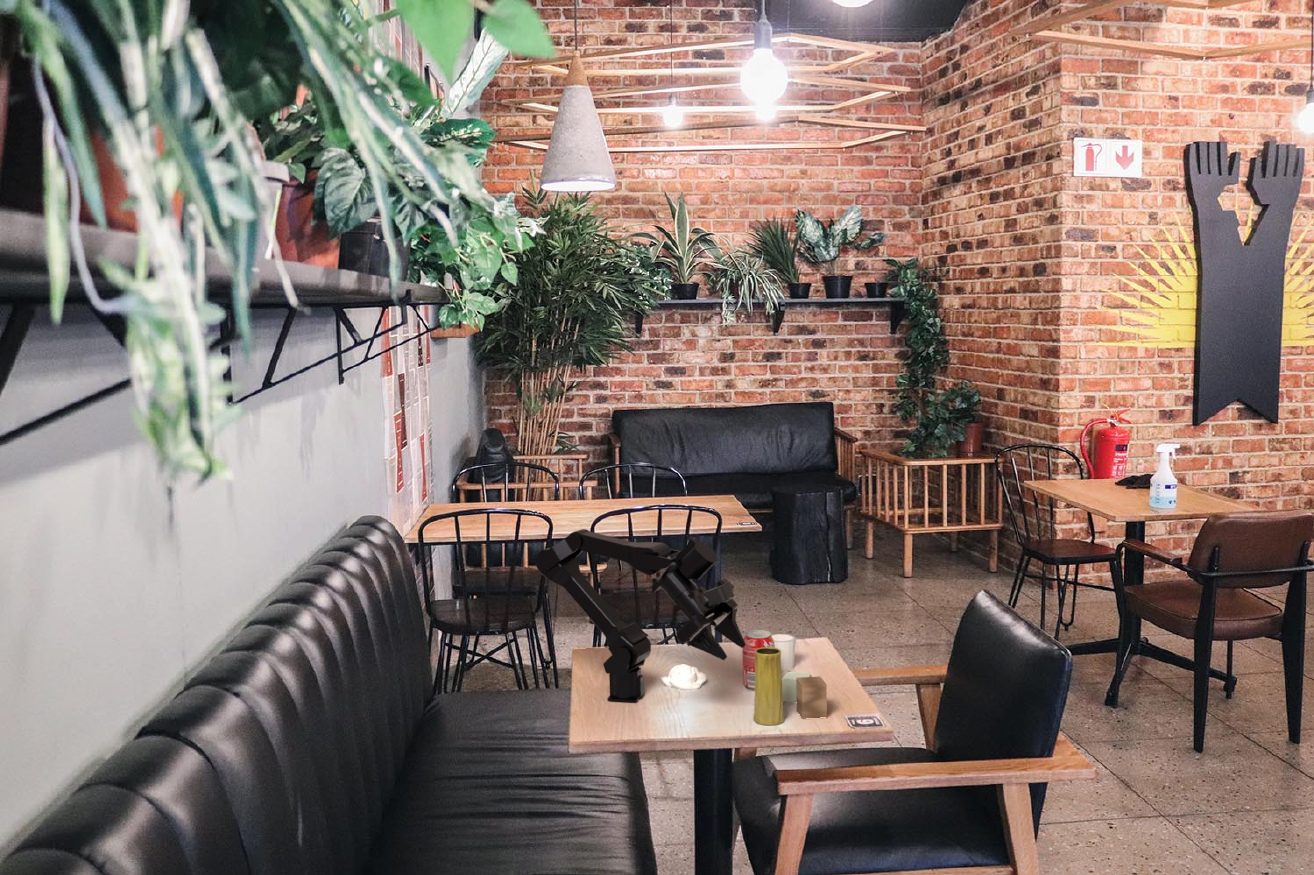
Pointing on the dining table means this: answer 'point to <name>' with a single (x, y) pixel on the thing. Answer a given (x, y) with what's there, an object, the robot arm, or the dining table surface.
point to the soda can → (753, 653)
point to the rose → (684, 678)
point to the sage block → (791, 685)
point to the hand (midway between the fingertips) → (734, 652)
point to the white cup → (785, 650)
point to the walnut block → (811, 697)
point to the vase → (768, 687)
